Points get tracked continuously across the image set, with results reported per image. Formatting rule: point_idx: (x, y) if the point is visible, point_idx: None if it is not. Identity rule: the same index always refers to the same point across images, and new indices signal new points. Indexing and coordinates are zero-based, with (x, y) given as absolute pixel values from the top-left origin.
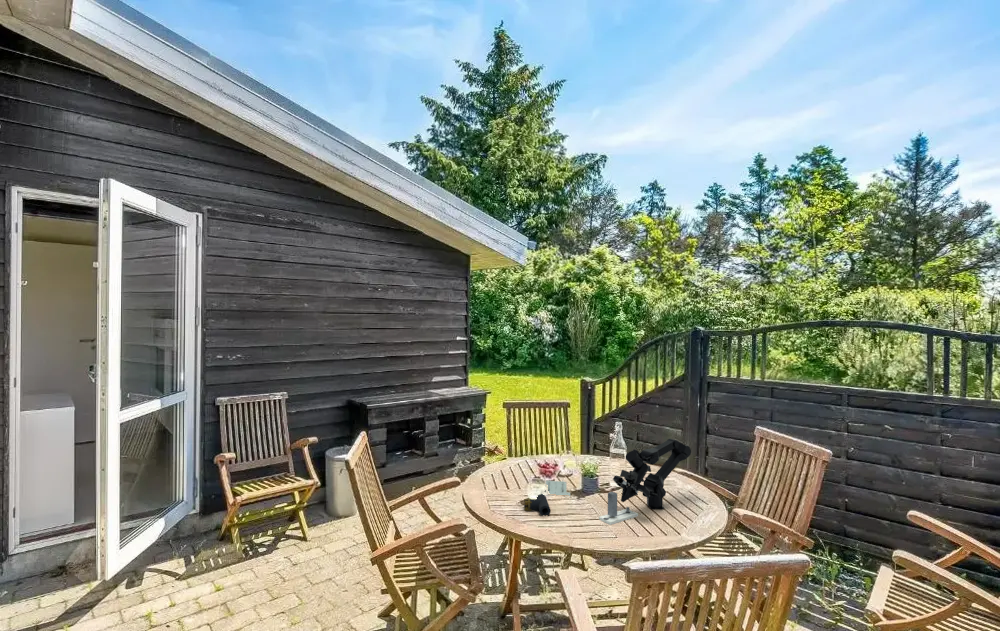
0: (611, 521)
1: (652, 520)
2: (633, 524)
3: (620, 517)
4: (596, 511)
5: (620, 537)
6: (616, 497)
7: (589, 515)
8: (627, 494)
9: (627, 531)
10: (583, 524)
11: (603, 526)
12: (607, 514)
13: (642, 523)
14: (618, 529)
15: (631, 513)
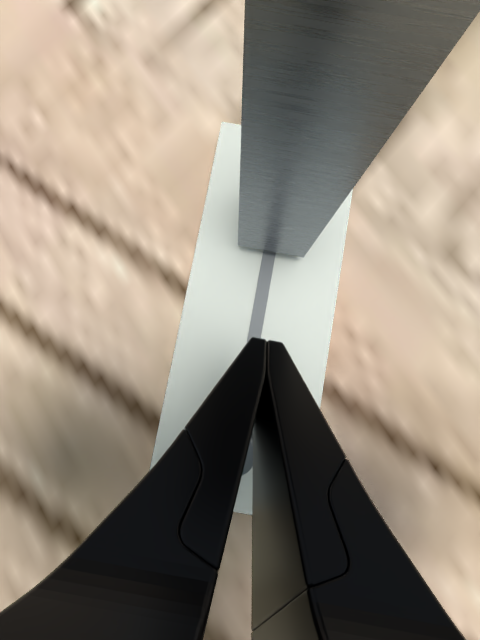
0: (222, 143)
1: (4, 502)
2: (90, 288)
3: (216, 275)
4: (475, 285)
5: (44, 19)
6: (246, 52)
7: (453, 171)
8: (163, 460)
9: (57, 138)
10: None
11: (242, 82)
12: (340, 243)
13: (42, 367)
14: (129, 118)
15: None
